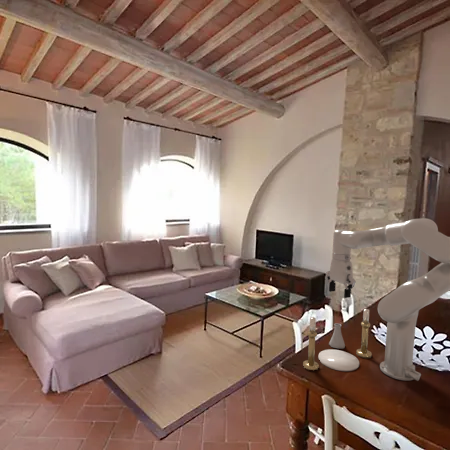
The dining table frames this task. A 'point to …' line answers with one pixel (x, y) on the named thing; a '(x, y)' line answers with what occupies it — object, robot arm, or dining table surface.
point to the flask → (337, 338)
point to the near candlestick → (311, 347)
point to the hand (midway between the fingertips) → (339, 294)
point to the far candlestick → (364, 336)
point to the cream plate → (338, 360)
